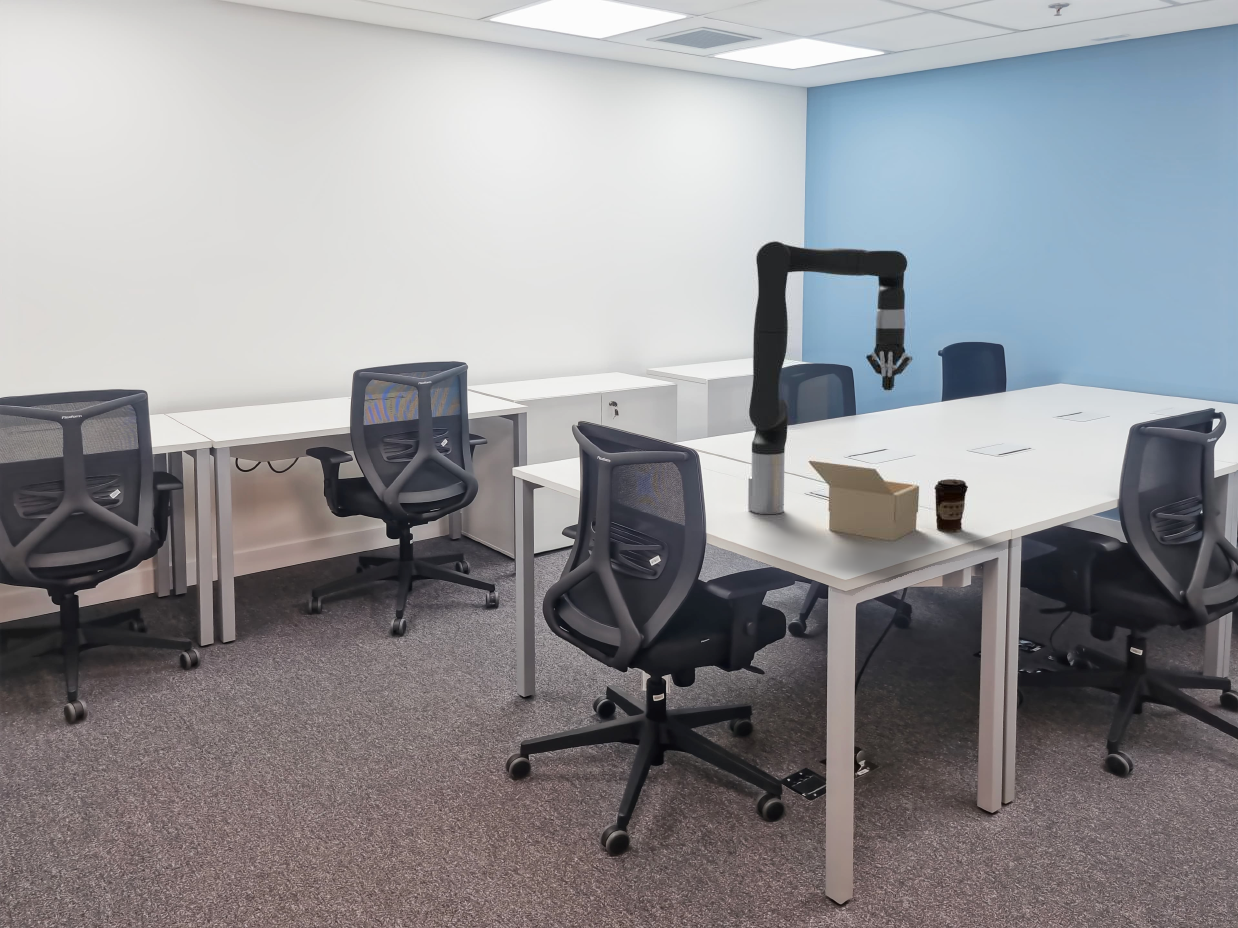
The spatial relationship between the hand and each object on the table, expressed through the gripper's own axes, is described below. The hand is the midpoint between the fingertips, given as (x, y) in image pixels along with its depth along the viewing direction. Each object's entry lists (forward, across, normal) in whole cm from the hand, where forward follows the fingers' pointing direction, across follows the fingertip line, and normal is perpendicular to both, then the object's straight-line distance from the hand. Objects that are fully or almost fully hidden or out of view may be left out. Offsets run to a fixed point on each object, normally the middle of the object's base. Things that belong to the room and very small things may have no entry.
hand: (888, 390), depth 275 cm
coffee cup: (+35, +21, -5) cm, 41 cm away
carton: (+35, +5, -17) cm, 39 cm away
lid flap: (+19, +5, -30) cm, 35 cm away
